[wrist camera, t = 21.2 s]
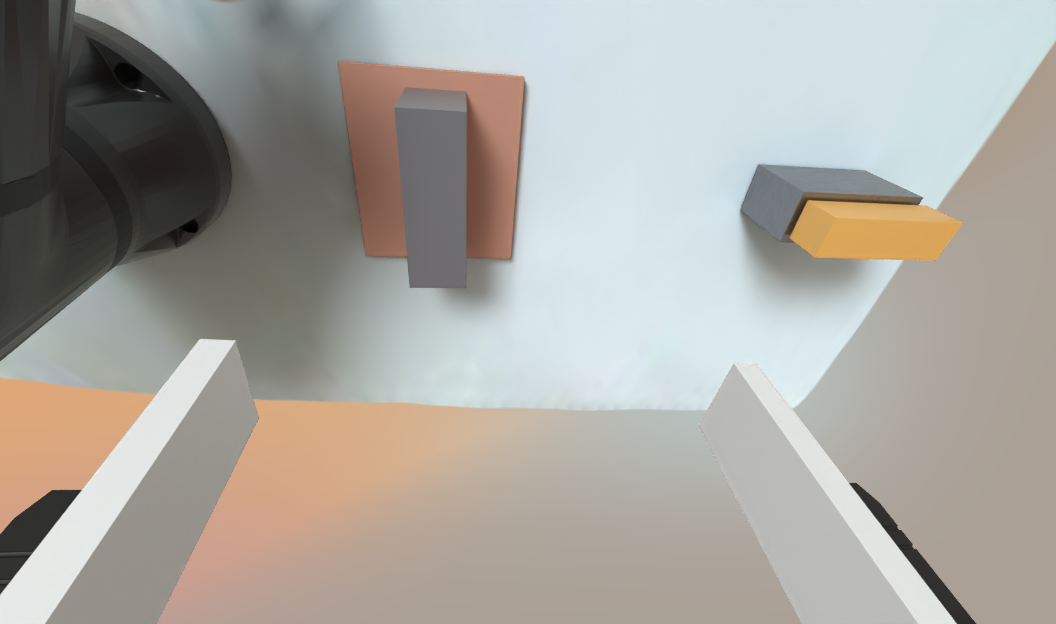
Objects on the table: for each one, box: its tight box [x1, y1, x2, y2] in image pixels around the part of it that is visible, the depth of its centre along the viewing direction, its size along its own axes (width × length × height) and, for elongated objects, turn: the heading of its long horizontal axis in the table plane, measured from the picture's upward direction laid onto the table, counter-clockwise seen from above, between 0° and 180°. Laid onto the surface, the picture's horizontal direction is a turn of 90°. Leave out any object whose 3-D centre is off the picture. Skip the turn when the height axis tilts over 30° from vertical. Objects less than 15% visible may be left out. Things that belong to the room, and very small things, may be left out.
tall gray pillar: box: [394, 87, 467, 288], centre depth 31 cm, size 4×12×6 cm, turn 175°
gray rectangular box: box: [741, 164, 923, 242], centre depth 36 cm, size 10×4×6 cm, turn 85°
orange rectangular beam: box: [790, 200, 962, 260], centre depth 32 cm, size 10×3×3 cm, turn 85°
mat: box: [338, 61, 524, 259], centre depth 33 cm, size 12×14×1 cm
